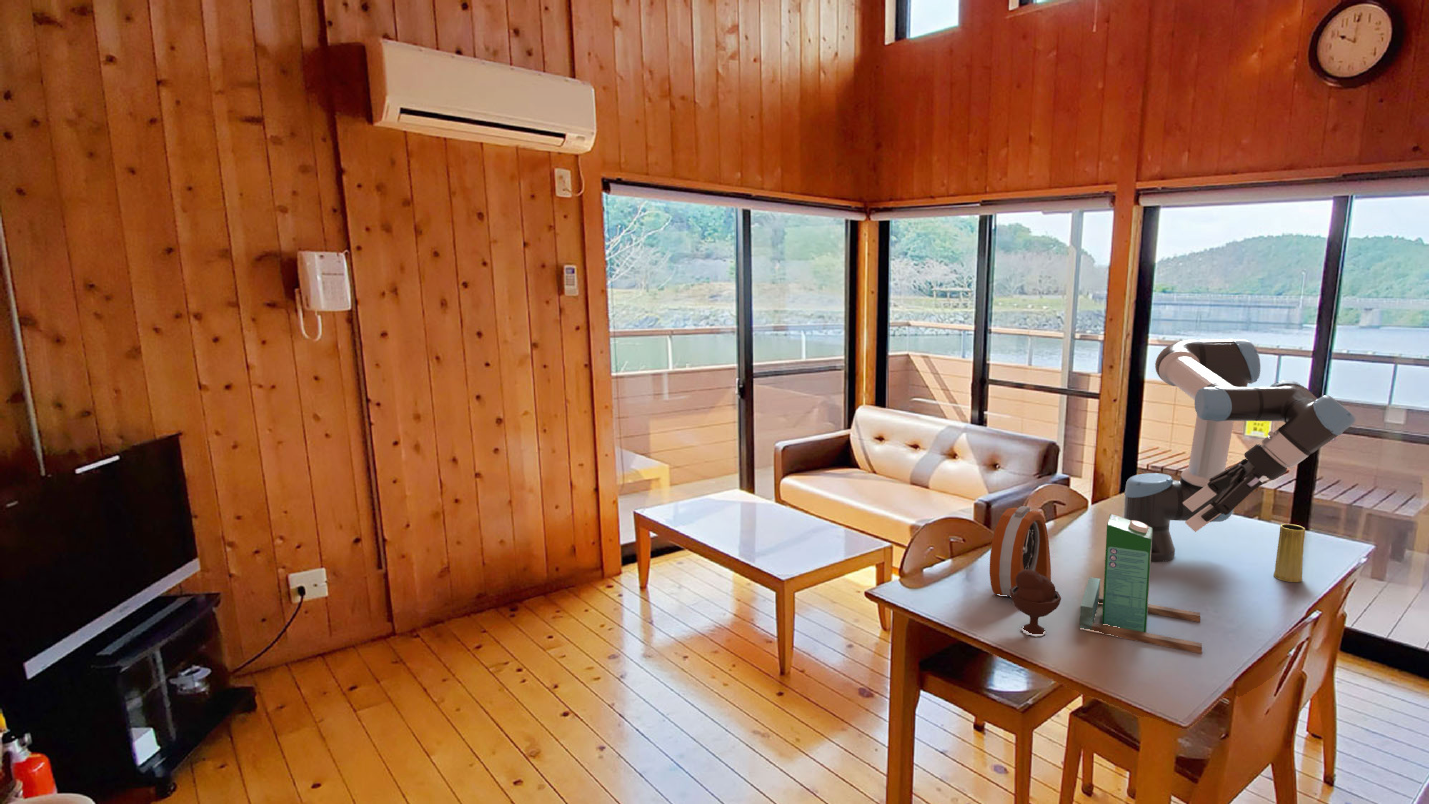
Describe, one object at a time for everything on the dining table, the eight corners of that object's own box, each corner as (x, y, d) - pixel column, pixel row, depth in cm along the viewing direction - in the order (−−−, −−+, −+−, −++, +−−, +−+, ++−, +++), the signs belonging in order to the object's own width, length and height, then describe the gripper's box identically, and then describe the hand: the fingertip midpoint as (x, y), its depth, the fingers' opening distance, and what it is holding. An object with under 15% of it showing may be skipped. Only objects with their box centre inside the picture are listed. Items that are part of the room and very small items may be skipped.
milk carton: (1145, 633, 170) (1152, 529, 166) (1101, 624, 175) (1106, 523, 171) (1147, 617, 178) (1153, 518, 174) (1105, 610, 183) (1110, 513, 179)
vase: (1307, 583, 194) (1312, 531, 191) (1280, 582, 195) (1285, 530, 193) (1294, 574, 200) (1299, 523, 197) (1268, 573, 201) (1273, 522, 199)
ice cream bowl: (1035, 646, 166) (1037, 583, 164) (998, 626, 176) (1000, 567, 174) (1069, 636, 170) (1072, 574, 168) (1031, 617, 180) (1033, 558, 178)
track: (1199, 618, 176) (1201, 595, 175) (1201, 653, 161) (1203, 627, 160) (1087, 599, 189) (1088, 577, 188) (1079, 629, 173) (1080, 605, 172)
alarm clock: (1026, 609, 185) (1029, 522, 181) (987, 599, 191) (989, 515, 188) (1056, 581, 201) (1059, 501, 197) (1019, 573, 207) (1022, 495, 204)
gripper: (1252, 429, 168) (1173, 488, 178) (1267, 458, 147) (1176, 522, 157) (1280, 453, 166) (1199, 511, 177) (1299, 485, 145) (1206, 549, 156)
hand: (1188, 516), depth 167 cm, fingers open, 13 cm apart
